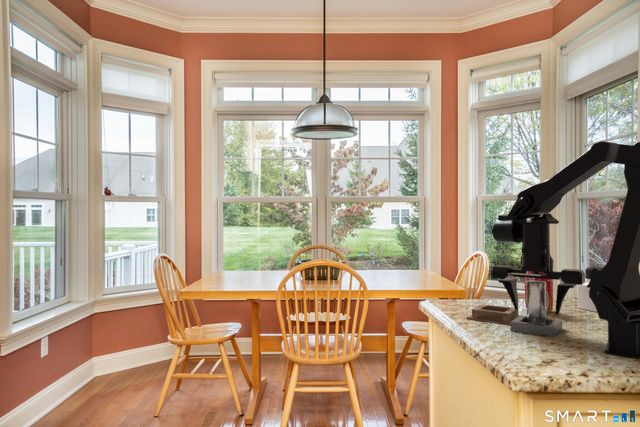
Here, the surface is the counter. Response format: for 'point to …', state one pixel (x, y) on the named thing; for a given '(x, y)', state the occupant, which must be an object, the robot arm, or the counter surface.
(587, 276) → the medicine bottle
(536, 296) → the silver metal cylinder
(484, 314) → the brown square tray
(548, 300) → the soda can
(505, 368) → the counter surface
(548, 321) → the socket block
